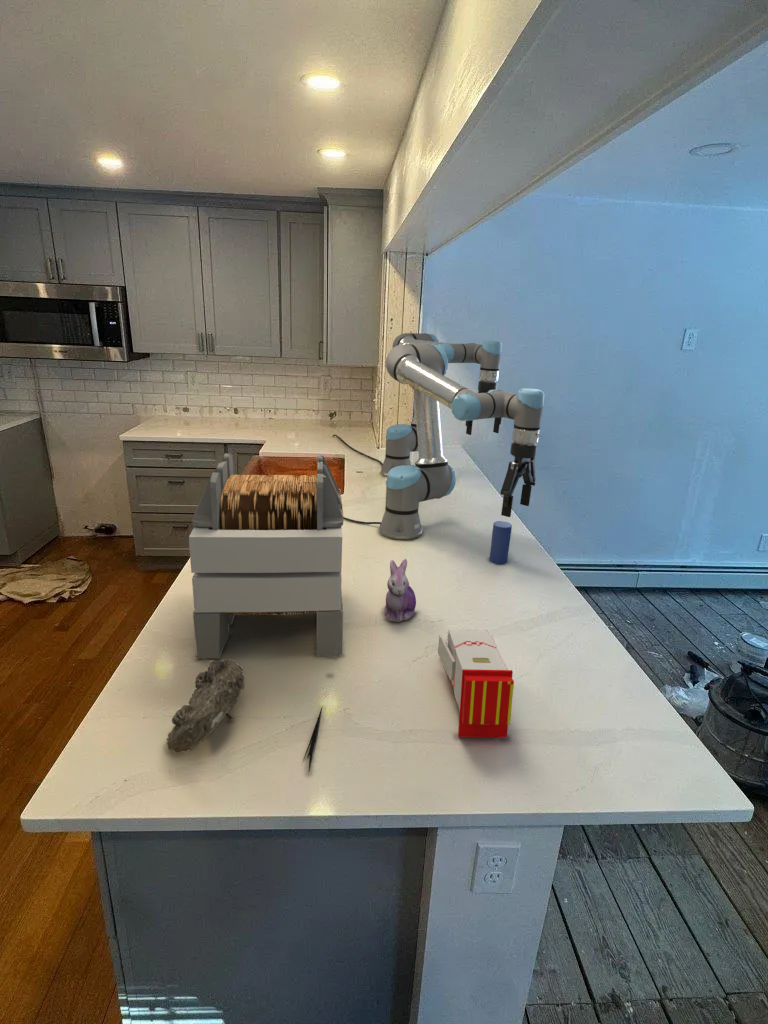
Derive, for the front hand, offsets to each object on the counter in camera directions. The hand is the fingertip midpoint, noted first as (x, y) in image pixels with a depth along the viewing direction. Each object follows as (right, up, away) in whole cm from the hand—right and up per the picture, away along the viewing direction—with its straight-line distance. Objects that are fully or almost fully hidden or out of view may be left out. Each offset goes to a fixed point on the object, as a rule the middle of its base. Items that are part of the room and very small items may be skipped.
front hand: (515, 510), depth 174 cm
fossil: (-73, -40, -66) cm, 106 cm away
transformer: (-68, -28, -32) cm, 80 cm away
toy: (-22, -38, -56) cm, 71 cm away
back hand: (0, +32, +59) cm, 67 cm away
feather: (-53, -40, -65) cm, 93 cm away
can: (-4, -16, +8) cm, 18 cm away
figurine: (-36, -27, -27) cm, 53 cm away
